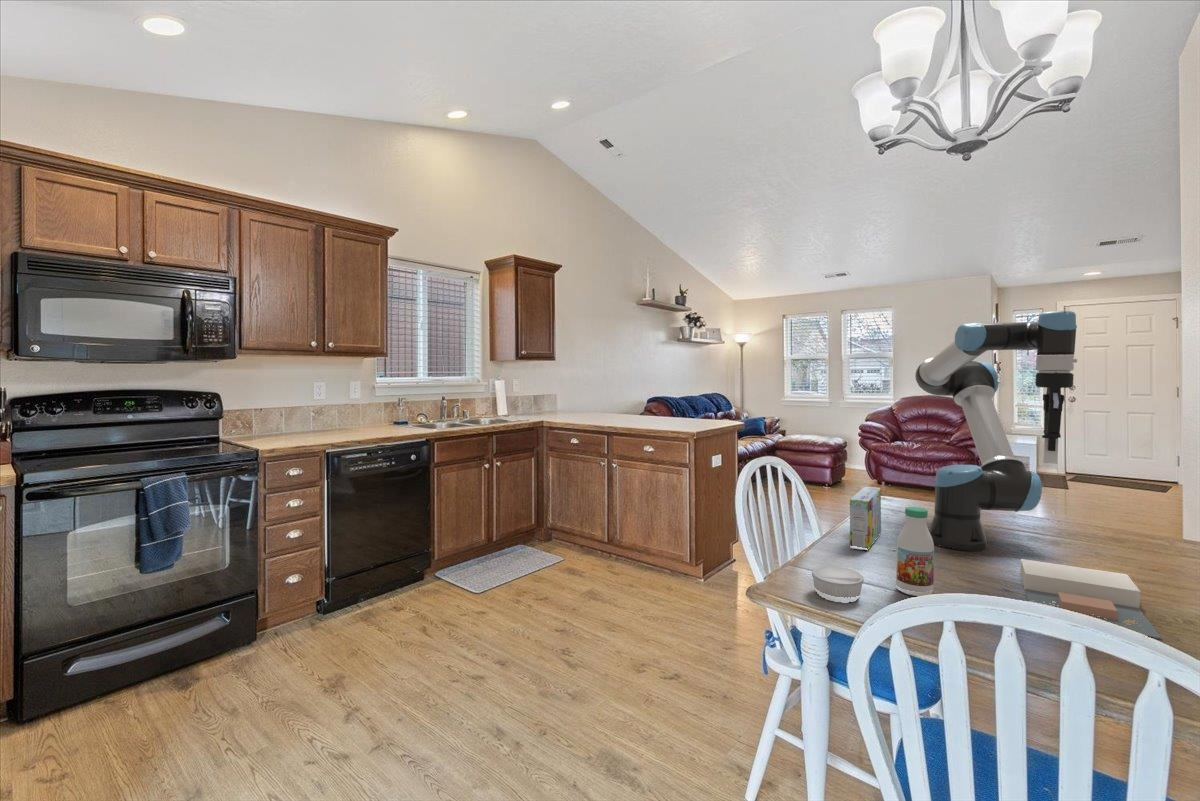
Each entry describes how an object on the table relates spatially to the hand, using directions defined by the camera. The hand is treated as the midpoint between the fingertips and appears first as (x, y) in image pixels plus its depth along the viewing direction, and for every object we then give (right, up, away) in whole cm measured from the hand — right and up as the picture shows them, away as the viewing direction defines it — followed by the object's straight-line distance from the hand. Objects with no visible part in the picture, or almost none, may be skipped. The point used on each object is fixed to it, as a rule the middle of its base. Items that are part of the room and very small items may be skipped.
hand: (1050, 462), depth 144 cm
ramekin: (-62, -30, -14) cm, 70 cm away
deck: (-4, -29, -13) cm, 32 cm away
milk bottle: (-43, -29, -13) cm, 53 cm away
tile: (-12, -27, -24) cm, 38 cm away
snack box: (-36, -27, +26) cm, 52 cm away
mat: (-12, -30, -24) cm, 40 cm away
